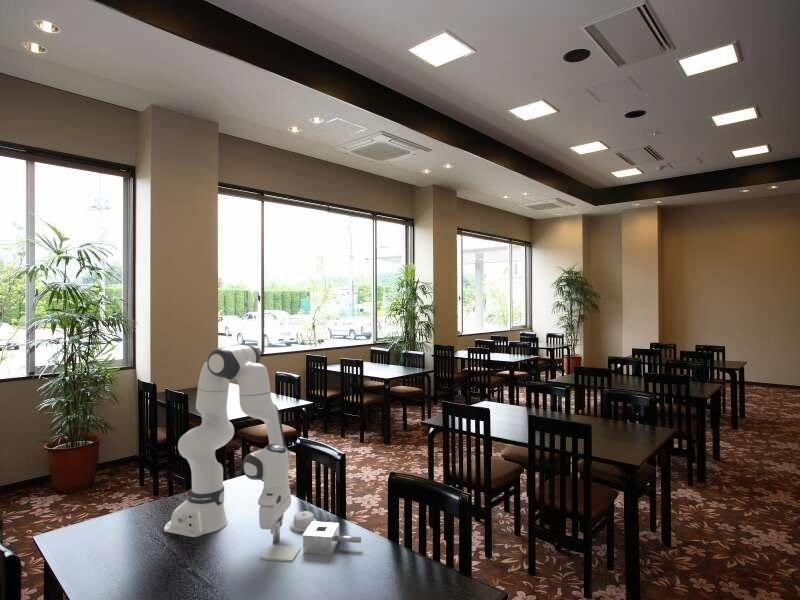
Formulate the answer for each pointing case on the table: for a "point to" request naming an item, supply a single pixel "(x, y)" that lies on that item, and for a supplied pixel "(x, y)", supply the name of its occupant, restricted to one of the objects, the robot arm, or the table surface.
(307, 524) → the mechanical component
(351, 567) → the table surface
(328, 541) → the block
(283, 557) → the mat
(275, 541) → the grey capped cylinder
